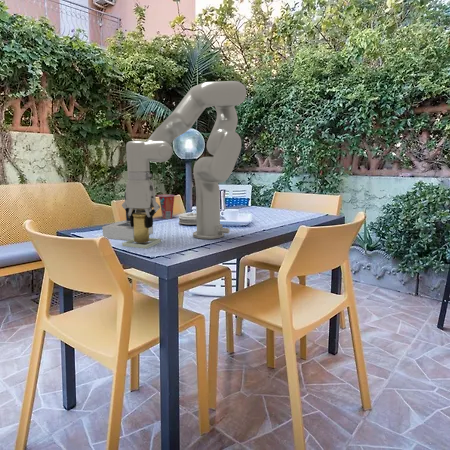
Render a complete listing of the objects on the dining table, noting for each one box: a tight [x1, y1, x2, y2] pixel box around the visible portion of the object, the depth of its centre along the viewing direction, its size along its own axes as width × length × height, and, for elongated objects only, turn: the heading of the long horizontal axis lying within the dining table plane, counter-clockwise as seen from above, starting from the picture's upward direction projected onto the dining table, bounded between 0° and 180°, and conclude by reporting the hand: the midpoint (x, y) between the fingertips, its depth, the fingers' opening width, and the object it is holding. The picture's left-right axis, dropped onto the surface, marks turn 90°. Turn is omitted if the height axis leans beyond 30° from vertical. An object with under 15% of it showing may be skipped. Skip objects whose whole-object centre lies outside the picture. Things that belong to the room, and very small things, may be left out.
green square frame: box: [121, 237, 162, 249], centre depth 129 cm, size 10×10×2 cm
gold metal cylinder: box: [132, 212, 150, 244], centre depth 128 cm, size 6×6×10 cm
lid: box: [178, 212, 197, 226], centre depth 169 cm, size 13×13×5 cm
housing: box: [102, 220, 154, 241], centre depth 142 cm, size 14×14×5 cm
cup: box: [157, 194, 176, 220], centre depth 183 cm, size 9×8×12 cm
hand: (141, 226), depth 128 cm, fingers open, 5 cm apart
